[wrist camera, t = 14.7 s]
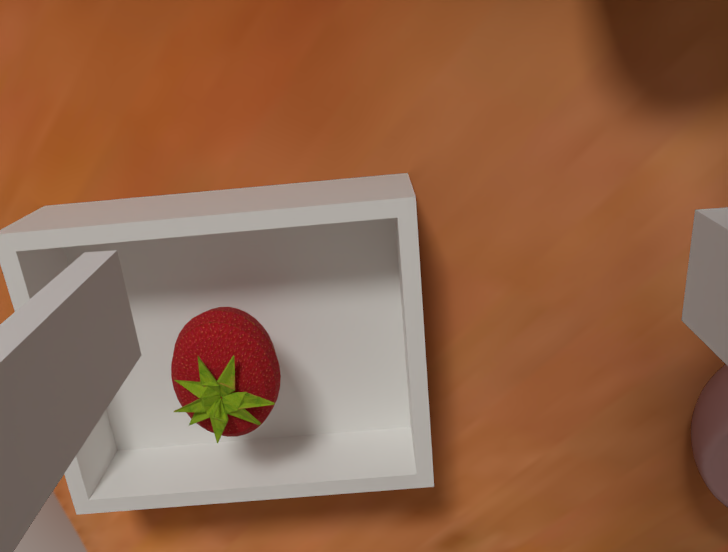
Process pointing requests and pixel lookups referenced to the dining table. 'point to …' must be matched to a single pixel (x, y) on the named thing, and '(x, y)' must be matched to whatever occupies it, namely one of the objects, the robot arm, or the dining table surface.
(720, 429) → the mortar and pestle
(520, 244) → the dining table surface
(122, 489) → the bin
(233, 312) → the strawberry
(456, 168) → the dining table surface
